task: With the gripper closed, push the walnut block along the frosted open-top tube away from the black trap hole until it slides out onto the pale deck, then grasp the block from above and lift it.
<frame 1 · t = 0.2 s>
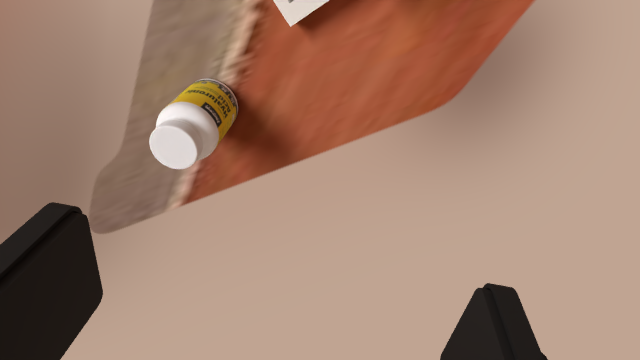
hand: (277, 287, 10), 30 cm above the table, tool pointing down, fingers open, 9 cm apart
supplement bottle: (213, 102, 41), on the table
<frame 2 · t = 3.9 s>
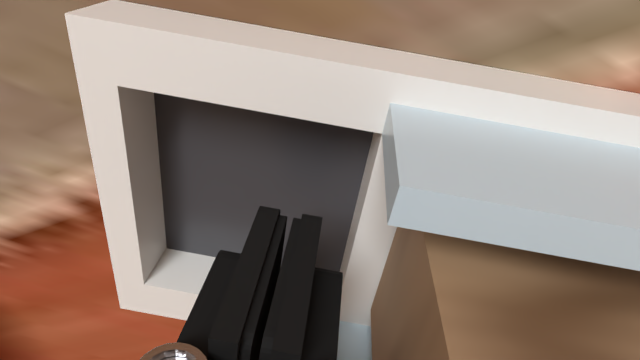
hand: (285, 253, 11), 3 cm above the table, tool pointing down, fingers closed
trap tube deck: (520, 231, 13), on the table
walnut block: (474, 266, 11), point 2 cm above the table, touching gripper, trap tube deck
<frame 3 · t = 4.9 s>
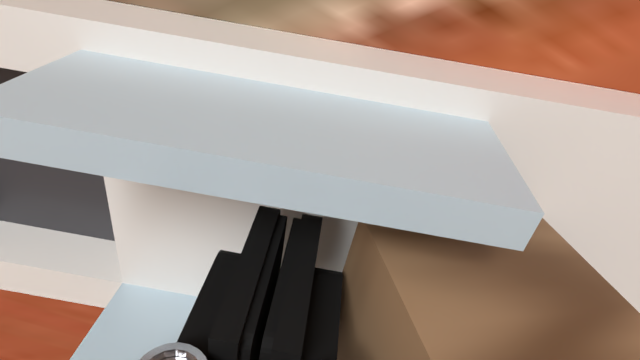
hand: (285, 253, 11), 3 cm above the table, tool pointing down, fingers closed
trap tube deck: (304, 193, 13), on the table
walnut block: (422, 284, 11), point 3 cm above the table, tilted 19°, touching gripper, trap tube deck
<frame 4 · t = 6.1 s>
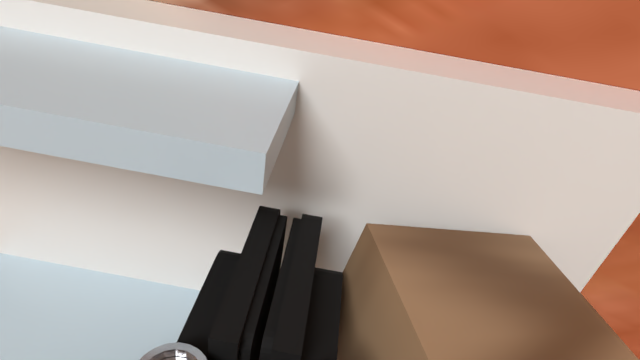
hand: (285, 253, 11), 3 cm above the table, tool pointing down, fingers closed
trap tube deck: (173, 164, 13), on the table
walnut block: (413, 293, 11), point 3 cm above the table, tilted 20°, touching gripper, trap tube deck
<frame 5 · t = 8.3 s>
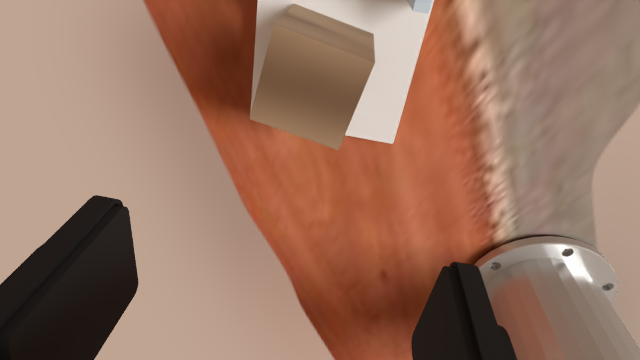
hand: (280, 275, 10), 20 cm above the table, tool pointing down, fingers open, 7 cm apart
walnut block: (320, 58, 25), point 2 cm above the table, touching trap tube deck
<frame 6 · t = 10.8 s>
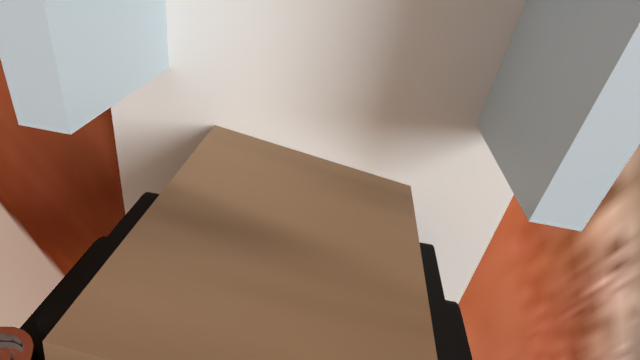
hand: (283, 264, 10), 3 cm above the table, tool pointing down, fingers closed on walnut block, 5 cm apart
walnut block: (289, 230, 11), point 2 cm above the table, touching gripper
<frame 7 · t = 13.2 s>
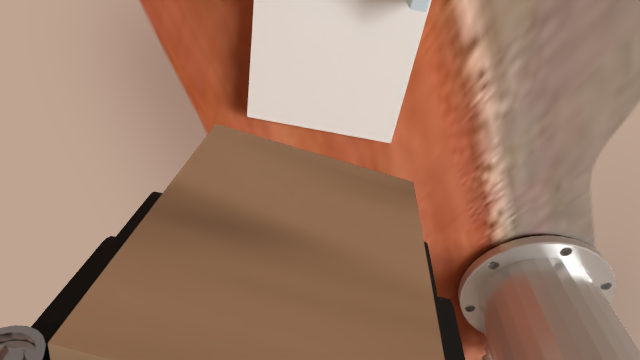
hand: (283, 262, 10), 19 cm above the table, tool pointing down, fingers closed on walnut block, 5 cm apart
walnut block: (292, 228, 11), point 18 cm above the table, touching gripper
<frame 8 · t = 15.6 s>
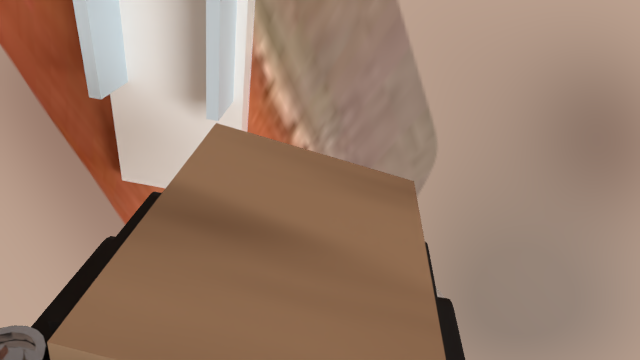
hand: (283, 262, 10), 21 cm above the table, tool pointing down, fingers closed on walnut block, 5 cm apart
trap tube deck: (184, 28, 29), on the table
walnut block: (292, 228, 11), point 20 cm above the table, touching gripper
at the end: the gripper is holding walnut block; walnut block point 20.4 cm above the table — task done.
